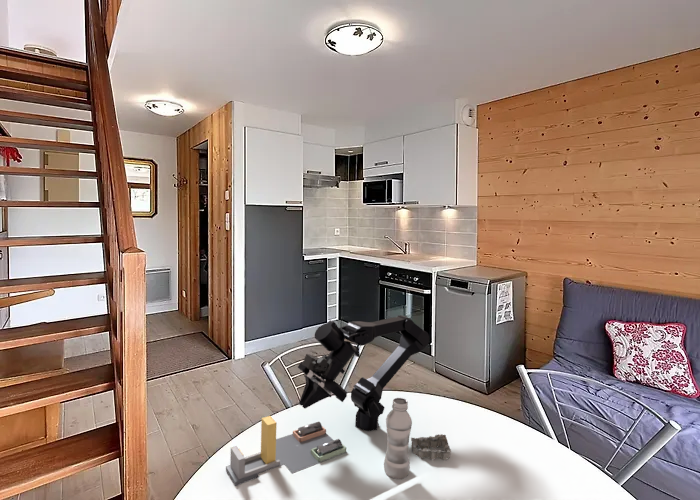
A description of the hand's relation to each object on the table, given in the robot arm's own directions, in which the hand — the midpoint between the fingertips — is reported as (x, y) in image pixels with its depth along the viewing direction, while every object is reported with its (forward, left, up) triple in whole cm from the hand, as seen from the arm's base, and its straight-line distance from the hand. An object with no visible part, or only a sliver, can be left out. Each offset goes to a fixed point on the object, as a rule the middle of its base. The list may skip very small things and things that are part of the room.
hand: (301, 406), depth 110 cm
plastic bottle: (-27, +3, -14) cm, 30 cm away
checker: (+3, +3, -14) cm, 14 cm away
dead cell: (0, -8, -13) cm, 15 cm away
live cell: (-8, 0, -13) cm, 15 cm away
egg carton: (-36, -9, -14) cm, 39 cm away
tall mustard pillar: (+7, +7, -12) cm, 16 cm away
